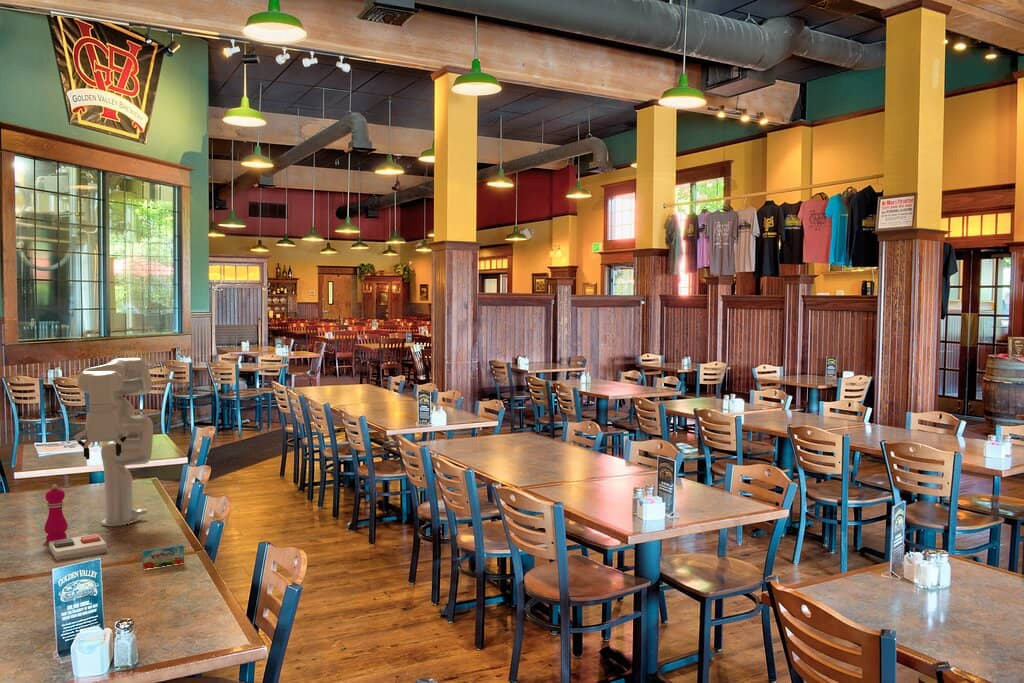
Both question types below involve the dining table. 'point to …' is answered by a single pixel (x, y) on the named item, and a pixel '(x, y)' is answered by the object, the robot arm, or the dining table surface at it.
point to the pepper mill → (55, 515)
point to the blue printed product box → (163, 556)
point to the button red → (90, 538)
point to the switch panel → (78, 548)
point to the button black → (64, 543)
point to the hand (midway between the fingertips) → (102, 457)
